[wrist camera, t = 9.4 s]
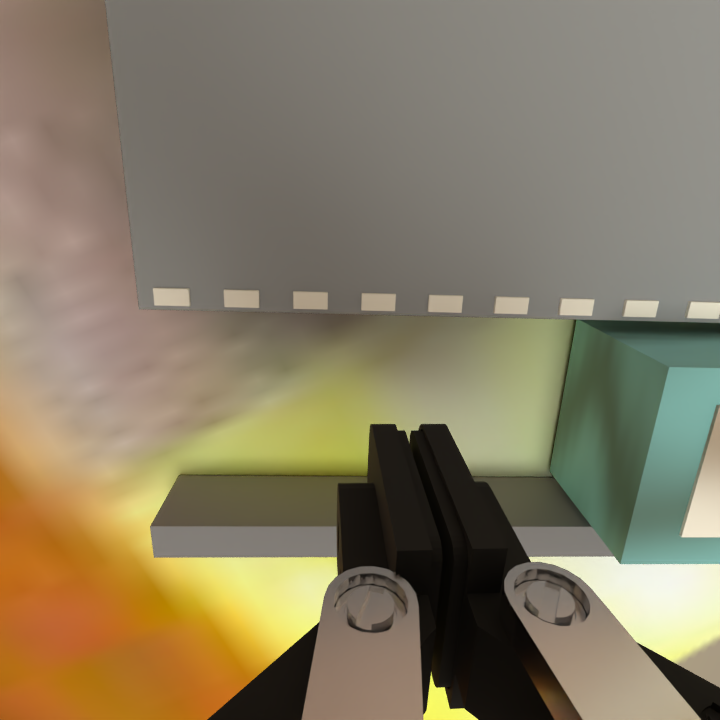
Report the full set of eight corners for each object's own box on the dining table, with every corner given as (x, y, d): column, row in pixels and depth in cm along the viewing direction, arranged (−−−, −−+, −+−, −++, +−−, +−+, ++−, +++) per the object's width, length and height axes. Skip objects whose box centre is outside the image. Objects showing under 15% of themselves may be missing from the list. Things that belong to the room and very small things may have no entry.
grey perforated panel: (126, -76, 13) (68, -151, 10) (839, -31, 14) (963, -87, 11) (181, 502, 19) (154, 557, 16) (685, 504, 20) (743, 556, 17)
